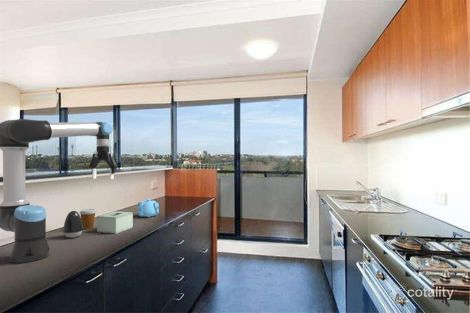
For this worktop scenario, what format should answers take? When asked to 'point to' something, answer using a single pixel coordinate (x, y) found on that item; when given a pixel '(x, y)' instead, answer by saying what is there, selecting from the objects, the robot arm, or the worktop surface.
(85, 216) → the disposable coffee cup
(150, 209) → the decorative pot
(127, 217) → the money box
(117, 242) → the worktop surface
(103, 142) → the robot arm
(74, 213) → the black dome on base
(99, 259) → the worktop surface
